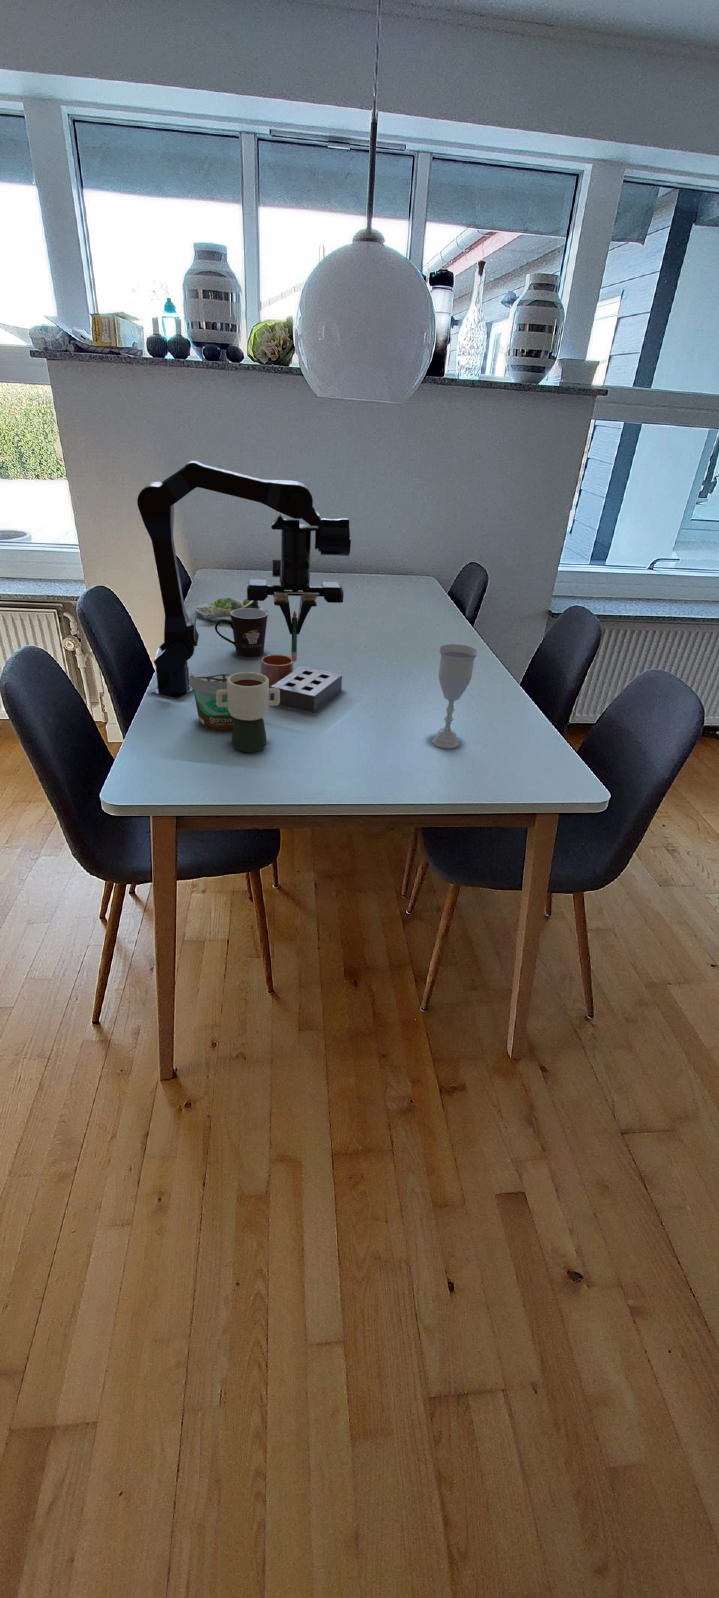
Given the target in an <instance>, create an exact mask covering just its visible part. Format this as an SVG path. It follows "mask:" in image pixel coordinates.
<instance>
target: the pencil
mask: <svg viewBox="0 0 719 1598" xmlns="http://www.w3.org/2000/svg"><path fill="white" fill-rule="evenodd" d="M297 621H298V616H297V613H296V611H295V610H294V611H293V612H292V616H291V622H292V634H291V647H290V649H291V650H290V657H291V661H293V662H297V661H298V634H297Z"/></svg>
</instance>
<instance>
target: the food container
mask: <svg viewBox="0 0 719 1598" xmlns="http://www.w3.org/2000/svg"><path fill="white" fill-rule="evenodd" d="M251 672H254V671H253V670H251ZM230 675H231V674H226V673H224V674H223V673H221V674H214V675H208V676H194V675H193V673H192V672H190V675H189V686H190V687H192V689H194V690H193V695H194V701H195V705H196V711H197V716H198V722H199V725H200V726H202V727H203V728H205V729H207V730H209V731H213V732H222V733H223V732H224V733H225V732H226V733H227V732H232V731H233V722H234V719H235V718H234V717H233V716H231V714H230V712H229V710H228V707H221V708H220V707H217V704H216V691H217V690H219V689H227V679H228V677H229V676H230ZM222 702H228V699H227V695H222Z"/></svg>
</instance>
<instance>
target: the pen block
mask: <svg viewBox="0 0 719 1598" xmlns="http://www.w3.org/2000/svg"><path fill="white" fill-rule="evenodd" d="M342 684H343V674H340V673H334V672H331V671H326V670H321V669H316V668H311V667H307V666H302V665H300V666H299V667H298V668H296V669H294V670H293V672H292V673H290V674H289V675H287V676H286V677H284V678H283V679H281V680H280V681H278V682H277V683H275V684H274V685H272V686H270V688H278V689H279V690H280V703H279V705H278V706H283V707H288V708H291V709H297V710H300V711H305V712H309V713H313V714H314V713H316V712H317V711H318V710H319V709H320V708H322V707H323V706H324V705H325V704H327V703H328V702H329V701H330V700H331V699H333V698H334V697H335V696H336V695H338V694H339V693H340V692H341V691H342ZM273 700H274V693H270V701H273Z"/></svg>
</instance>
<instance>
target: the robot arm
mask: <svg viewBox="0 0 719 1598" xmlns="http://www.w3.org/2000/svg"><path fill="white" fill-rule="evenodd" d="M196 488H200V489H204V490H208V491H212V492H215V493H220V494H224V495H227V496H232V497H236V498H240V499H245V500H248V501H252V502H255V503H260V504H262V505H264V506H267V507H269V508H270V509H272V510H274V511H276V512H278V514H277V516H276V518H275V519H274V520H273V521H271V522H270V527H271V529H272V530H276V531H277V530H278V531H280V559H272V560H271V566H272V567H271V576H272V578H279V584H268V579H256V578H255V579H253V578H250V579H249V580H247V582H246V599H247V600H250V601H258V602H264V601H265V600H266V599H267V598H268V597H269V596H272V597H273V605H274V606H276V607H277V606H279V608H280V610H281V612H282V615H283V617H284V619H285V623H286V626H287V630H288V632H289V635H292V614H291V608H290V607H291V606H290V600H289V597H291V596H292V597H299V607H298V613H297V635H300V633H301V631H302V628H303V625H304V624H305V621H306V618H307V616H308V614H309V613H310V611H311V609H312V608H313V607H317V605H318V601H317V599H318V597H323V599H324V601H326V602H327V603H328V604H329V603H332V604H341V603H344V597H345V596H344V595H345V594H344V593H345V592H344V588H343V585H342V584H341V583H340V582H339V581H321V584H320V585H321V586H319V585H318V586H317V585H312V586H311V549H312V546H311V545H312V532H313V549H314V550H317V552H318V553H319V556H337V557H350V553H351V547H352V546H351V544H352V539H351V530H350V520H349V518H348V517H338V518H331V517H321V515H320V513H319V511H317V510H316V509H315V508H314V506H313V505H314V500H313V495H312V493H311V492H310V490H309V487H308V486H307V485H306V484H304V483H303V482H301V481H299V480H298V481H297V480H288V479H287V480H286V479H262V478H259V477H254V476H251V475H248V474H247V475H246V474H242V473H240V472H236V471H231V470H227V469H223V468H220V467H216V466H211V465H207V464H204V463H201V462H200V461H198V460H190V461H188V462H187V463H185V464H184V466H183V467H182V468H180V469H179V470H177V471H176V472H174V473H173V474H171V475H170V476H169V477H167V478H165V479H164V480H163V481H162V482H160V481H153V482H149V483H148V484H146V485H145V486H144V487H143V488H142V489H141V491H140V492H139V493H138V496H137V499H136V502H137V503H136V504H137V508H138V511H139V515H140V517H141V520H142V522H143V525H144V527H145V529H146V532H147V534H148V536H149V538H150V540H151V545H152V550H153V555H154V560H155V561H154V562H155V567H156V573H157V579H158V584H159V590H160V595H161V600H162V605H163V606H162V607H163V611H164V628H163V642H162V643H161V644H160V645H159V646H158V648H157V651H156V654H155V658H154V661H153V663H154V666H155V671H156V683H157V688H156V689H154V690H152V691H151V693H152V694H155V695H160V696H164V697H167V698H172V699H178V700H179V699H180V698H182V697H184V696H186V695H188V694H189V693H191V692H194V689H193V688H192V687H191V686H190V685H189V677H190V675H189V674H190V673H189V666H188V665H189V664H188V660H190V659H191V658H192V657H193V656H194V653H195V648H196V647H197V646H198V642H199V637H200V634H199V632H198V630H197V617H196V616H192V617H189V615H188V613H187V610H186V608H185V601H184V595H183V589H182V583H181V577H180V572H179V565H178V558H177V553H176V546H175V542H174V523H175V522H174V521H175V504H176V503H177V502H179V501H180V500H182V499H183V498H184V497H185V496H187V495H188V494H189V493H191V492H192V491H194V490H195V489H196ZM282 515H285V516H287V517H289V518H290V519H289V518H284V517H283V516H282ZM300 520H303V522H305V523H306V524H302V523H300Z"/></svg>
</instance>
